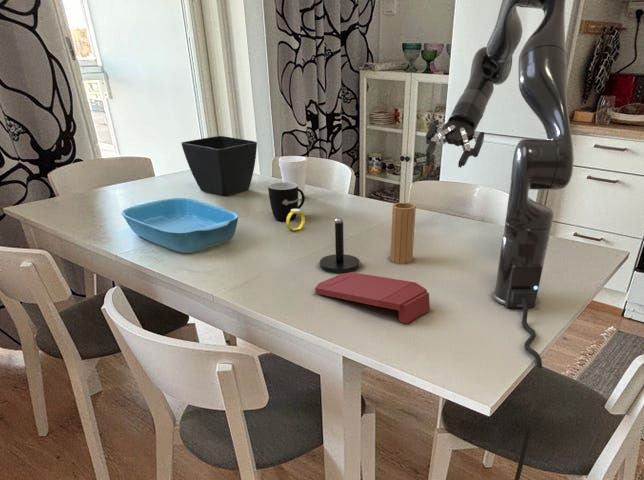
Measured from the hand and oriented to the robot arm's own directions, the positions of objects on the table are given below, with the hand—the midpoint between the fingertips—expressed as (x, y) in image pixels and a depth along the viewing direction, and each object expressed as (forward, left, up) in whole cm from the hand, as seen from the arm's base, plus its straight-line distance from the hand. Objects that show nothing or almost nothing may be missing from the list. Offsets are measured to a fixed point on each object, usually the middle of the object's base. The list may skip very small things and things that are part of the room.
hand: (444, 160), depth 132 cm
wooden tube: (-10, +11, -23) cm, 27 cm away
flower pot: (+59, +69, -23) cm, 93 cm away
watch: (+14, +40, -23) cm, 48 cm away
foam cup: (+50, +43, -23) cm, 70 cm away
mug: (+26, +43, -23) cm, 55 cm away
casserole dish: (+8, +71, -23) cm, 75 cm away
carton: (-34, +20, -23) cm, 46 cm away
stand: (-14, +27, -23) cm, 38 cm away
